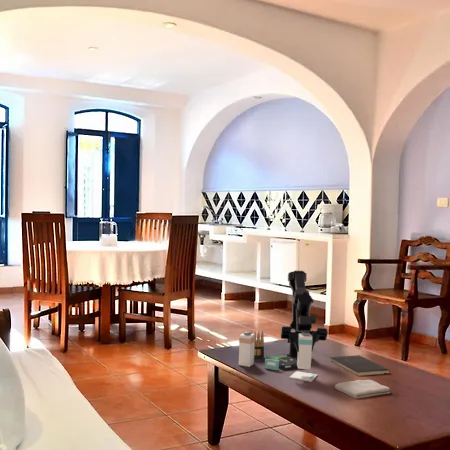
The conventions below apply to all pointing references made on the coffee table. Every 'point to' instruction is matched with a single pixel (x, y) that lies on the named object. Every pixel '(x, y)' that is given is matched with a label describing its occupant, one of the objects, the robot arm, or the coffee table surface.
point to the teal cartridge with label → (271, 364)
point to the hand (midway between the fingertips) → (305, 351)
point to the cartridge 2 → (304, 350)
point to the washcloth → (362, 388)
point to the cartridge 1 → (246, 349)
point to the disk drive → (284, 362)
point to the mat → (303, 376)
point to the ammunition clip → (258, 345)
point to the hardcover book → (359, 365)
